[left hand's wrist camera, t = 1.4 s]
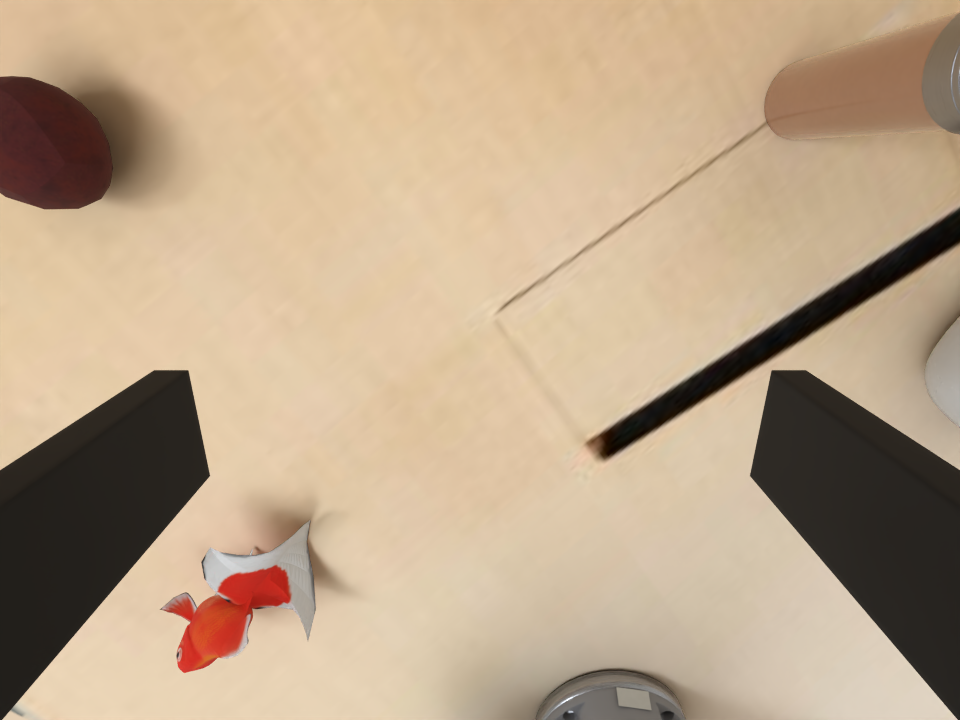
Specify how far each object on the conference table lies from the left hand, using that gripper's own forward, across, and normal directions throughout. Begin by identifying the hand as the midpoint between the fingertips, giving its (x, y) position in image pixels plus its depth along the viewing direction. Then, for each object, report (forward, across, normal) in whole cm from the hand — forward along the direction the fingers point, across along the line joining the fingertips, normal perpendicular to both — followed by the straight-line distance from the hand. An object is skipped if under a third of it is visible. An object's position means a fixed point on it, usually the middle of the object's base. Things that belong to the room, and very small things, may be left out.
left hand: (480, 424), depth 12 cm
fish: (+28, +20, +28) cm, 44 cm away
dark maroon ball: (+28, +27, -6) cm, 39 cm away
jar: (+28, -21, -9) cm, 36 cm away
